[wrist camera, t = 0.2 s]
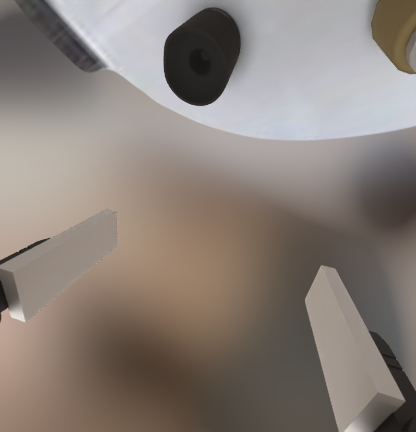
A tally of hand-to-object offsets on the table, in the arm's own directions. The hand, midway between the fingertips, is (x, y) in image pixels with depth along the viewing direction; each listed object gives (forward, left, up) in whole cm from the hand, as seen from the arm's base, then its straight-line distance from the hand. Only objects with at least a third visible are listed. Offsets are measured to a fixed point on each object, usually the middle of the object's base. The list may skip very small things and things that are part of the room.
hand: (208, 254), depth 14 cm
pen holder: (-4, -9, -35) cm, 36 cm away
